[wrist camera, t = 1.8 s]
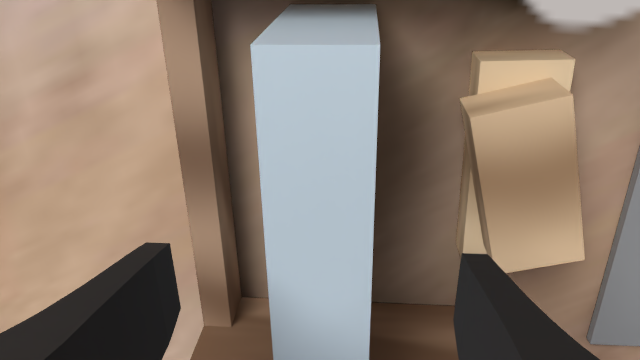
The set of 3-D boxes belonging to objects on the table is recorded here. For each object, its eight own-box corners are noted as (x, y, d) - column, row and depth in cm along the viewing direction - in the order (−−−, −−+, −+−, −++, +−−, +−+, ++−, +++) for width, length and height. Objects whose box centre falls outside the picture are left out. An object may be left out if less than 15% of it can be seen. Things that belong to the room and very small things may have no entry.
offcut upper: (564, 229, 20) (584, 260, 18) (483, 243, 20) (495, 274, 18) (551, 76, 17) (572, 95, 15) (459, 98, 18) (469, 117, 16)
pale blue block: (367, 264, 23) (367, 392, 17) (300, 261, 23) (275, 387, 17) (375, 3, 18) (380, 44, 12) (290, 4, 18) (250, 44, 12)
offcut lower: (525, 236, 22) (540, 264, 20) (454, 236, 22) (461, 263, 21) (555, 46, 19) (575, 59, 17) (469, 48, 19) (480, 61, 17)
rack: (520, 326, 24) (552, 409, 19) (218, 312, 25) (189, 388, 21) (605, -99, 16) (685, -106, 12) (166, -90, 17) (105, -95, 13)
